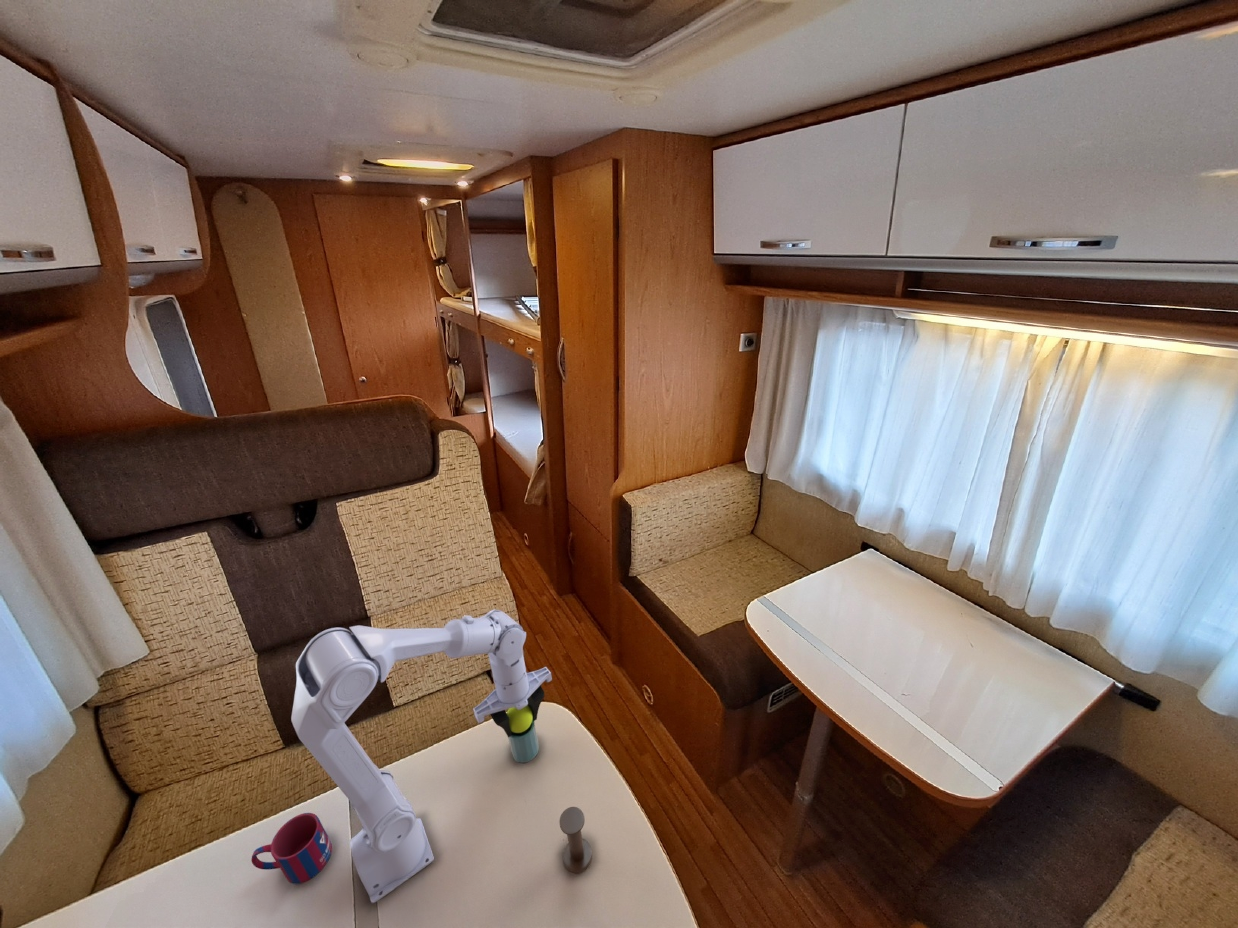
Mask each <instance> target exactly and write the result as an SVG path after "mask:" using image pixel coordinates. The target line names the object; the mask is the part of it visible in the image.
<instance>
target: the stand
mask: <svg viewBox="0 0 1238 928" xmlns="http://www.w3.org/2000/svg"><path fill="white" fill-rule="evenodd" d="M558 823H559V828H560V830H561V832H562V833H563V834H564V835H566V838H567V843H566V845H565V846H564V849H563V852H562V860H563V864H564V867H565V868H566V869H567V870H568V872H570V873H573V874H580V873H583V872H584V871H586V870H587V869H588V867H589V866H590V865H591V862H592V859H593V849H592V847H591V844H590V842H588V840H586V839H585V838H583V835H582V829H583V828H584V826H585V814H584V812H583V810H582V809H580V808H579V807H576V806H570V807H567V808H566V809H564V810H563V811H562V813H561V814H560V817H559V821H558Z"/></svg>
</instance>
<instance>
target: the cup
mask: <svg viewBox="0 0 1238 928" xmlns="http://www.w3.org/2000/svg"><path fill="white" fill-rule="evenodd" d="M271 841H272V842H271V843H270V844H265V845H261V846H260V847H257V848H256V849H255V850H254V851H253V852H252V855H251V860H250V861H251V864H252V865H253V866H254V867H255V868H257V869H259V870H264V871H265V870H278V869H280V870H281V873H283V876H284V877H285V879H286V881H288V882H289V883H290V884H294V885H297V884H298V885H299V884H300V885H301V884H303V883H306V882H308V881H310V880H312V879H313V878H314V877H316V876H317V875H318V874H319V873H320V872H321V871H322V870H323V869H324V868H325V866H326V865H327V864H328V862H329V860H330V858H331V856H332V852H333V843H332V841H331V839H330V837H329V835H328V833H327V831H326V829H325V828H324V826H323V823H322V822H321V820H320V818H319V817H318V816H317V815H316V813H313V812H304V813H300V814H298V815H296V816H294V817H292V818H291V819H289V820H288V821H286V822H285V823H284V824H283V825H282V826H281V827H280V828H279V829H278V830H277V832H276V833H275V835H274V837H273V838H272V840H271ZM265 853H270V854H271V856H272V858H273V859H274V861H263V860H260V859H259V857H258V855H260V854H265Z"/></svg>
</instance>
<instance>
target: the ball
mask: <svg viewBox="0 0 1238 928" xmlns="http://www.w3.org/2000/svg"><path fill="white" fill-rule="evenodd" d="M506 713H507V715H508V717H509V726H510V729H511V731H512V732H515V733H521V732H524V731H525V730H527V729H528V728H529V726H530V725H531V723H532V719H533V714H532V711H531V708H530V707H529V706H528V705H527V706H525V707H524V708H522V709H520V710H518V709H517V708H516V707H513V708H509V709H507V711H506Z"/></svg>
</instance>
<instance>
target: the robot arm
mask: <svg viewBox="0 0 1238 928" xmlns="http://www.w3.org/2000/svg"><path fill="white" fill-rule="evenodd" d="M526 639H527V632H526V631H524V629H523V626H522V625H521V624H519V623H518V622H517V621H515V619H513V618H512V617H510V616H509V615H508V614H507V612H506V613H505V611H502V610H499V609H495V608H494V609H491V610H489V611H487V612H486V614H484V615H482V616H478V617H473V616H471V615H470V614H468V615H467V614H466V615H462V618H455V619H451V620H449V621H448V622H447V623H446V624H445V625H444V626H443V627H424V628H423V627H418V628H417V627H416V628H379V627H372V626H365V625H359V624H358V625H353V626H349V629H347V628H345V627H331V628H328V629H325V630H323V631H320V632H319V633H317V634H316V635H314V637H312V638H311V639H310V640H309V642H308V643H307V644H306V646H305V648H304V649H303V651H302V652H301V654H300V656H299V657H298V659H297V660H296V662H295V675H296V684H295V689H294V690H295V691H294V696H293V704H292V711H291V717H290V719H291V720H290V721H291V723H292V726H293V728H294V731H295V733H296V736H297V737H298V739H299V741H300V742H301V743H302V744H303V746H305V748H306V749H307V750H308V752H309V753H310V754H311V755H312V756H313V758H314V759H315V760H316V761H317V763H318V764H319V765H320V767H322V769H323V770H324V771H325V772H326V774H327V775H328V776H329V778H330V779H331V780H332V781H333V782H334V784H336V786H337V788H338V789H340V791H341V792H342V793H343V794H344V796H345V797H346V798H347V800H348V801H349V802H350V805H351V807H352V809H353V810H354V811H355V813H356V815H357V817H358V819H359V821H360V823H361V825H362V829H360V831H359V832H358V833H356V835H354V836H353V837H352V838H350V839H349V846H350V852H351V856H352V860H353V863H354V867H355V869H356V872H357V875H358V877H359V879H360V880H361V883H362V885H363V887H364V889H365V890H366V893H367V894H368V897H369V900H370V903H371V904H376V903H377V902H378V901H380V900H381V899H382V898H384V897H385V896H386V895H388V894H390V893H391V892H392V891H394V890H395V889H397V888H398V887H399V886H400V885H402V884H403V883H405V882H406V881H408V880H409V879H410V878H411V877H414V876H415V875H416V874H417V873H419V872H420V871H422V870H423V869H424V868H425V867H427V866H429V865H430V864H431V863H433V862H434V859H435V857H434V854H433V851H432V847H431V844H430V842H429V839H428V836H427V833H426V830H425V827H424V824H423V821H422V819H421V817H417V815H416V812H415V810H414V807H413V805H412V803H411V801H409V800H408V799H407V798H405V797H404V794H403V793H402V792H401V789H400V788H399V786H398V785H397V784H398V783H396V781H395V780H394V776H393V774H392V772H390V771H389V770H385V769H381V768H379V767H378V766H377V765H376V764H375V763H374V762H373V761H372V759H371V758H370V756H369V755H368V754H367V752H366V750H365V749H364V748H363V746H362V745H361V744H360V742H359V741H358V740H357V739H356V737H355V735H354V733H352V731H351V730H350V728H349V727H348V726H347V724H346V722H347V720H348V719H349V718H350V717H351V716H352V715H353V713H354V712H355V711H356V710H357V709H358V708H359V707H360V706H361V705H362V704H363V702H364V701H366V699H367V697H369V696H370V694H371V693H372V692H373V690H374V689H375V687H376V685H377V682H378V681H379V682H380V683H381V684H382V683H384V682H385V681H386V680H387V677H388V675H389V674H390V672H391V671H392V669H393V667H394V665H395V663H397V662H401V661H405V660H410V659H416V658H420V657H424V656H429V655H430V656H431V655H434V654H440V653H443V652H444V654H445V655H446V656H447V658H450V659H459V658H465V657H473V656H481V655H486V654H487V656H488V660H489V664H490V670H491V673H492V678H493V682H494V687H495V689H494V690H493V691H492V692H491V693H490V694H489V695H487V696H486V697H485V698H484V699H483V700H482V701H481V702H480V703H479V704H478V705H476V706H474V707H473V708H472V710H473V714H474V717H475V720H476V721H477V723H478V724H481V723H483V722H484V721H485V717H487V716H489V715H490V717H491V719H492V721H493V722H494V724H495V725H496V726H498V727H499V728H501V729H503V731H504V733H505V734H506V736H507V738H508V737H510V736H511V735H512V732H511V729H510V726H509V717H508V715H507V711H506V710H509V708H513V707H516V708H517V709H518V710H520V709H522V708H524V707H525V706H527V705H528V706H529V707H530V708H531V711H532V714H533V721H534V722H535V721H537V719H538V713H539V709H540V706H541V704H542V702H543V700H544V698H546V697H545V695H546V694H545V690H544V689H543V687H542V684H543V683H544V682H546V683H550V682H551V681H553V678H552V677H553V676H552V672H551V671H550V670H549V668H548V667H547V666H544V667H543V668H540V669H537V670H534V671H530V672H527V668H526V663H525V657H524V656H525V655H524V650H523V648H524V644H525V642H526Z"/></svg>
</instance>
